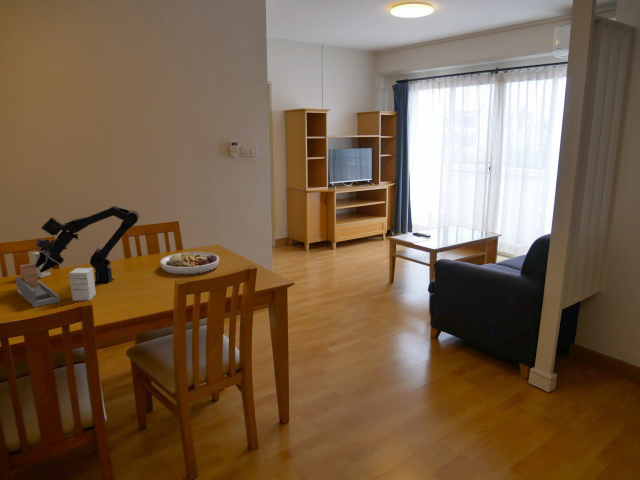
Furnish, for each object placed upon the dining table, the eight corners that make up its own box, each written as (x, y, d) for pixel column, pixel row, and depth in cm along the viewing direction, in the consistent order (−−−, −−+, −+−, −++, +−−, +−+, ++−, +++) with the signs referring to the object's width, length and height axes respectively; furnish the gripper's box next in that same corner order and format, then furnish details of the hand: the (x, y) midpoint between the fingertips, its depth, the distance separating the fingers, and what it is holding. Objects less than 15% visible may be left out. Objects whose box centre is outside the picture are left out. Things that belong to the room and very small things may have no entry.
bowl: (150, 275, 233) (149, 260, 232) (175, 259, 262) (174, 245, 261) (207, 278, 230) (207, 263, 228) (226, 261, 259) (226, 248, 257)
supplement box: (79, 294, 204) (76, 267, 201) (96, 294, 205) (93, 267, 202) (71, 300, 197) (68, 272, 194) (89, 300, 197) (86, 272, 194)
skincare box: (41, 278, 225) (38, 254, 222) (33, 277, 226) (30, 253, 223) (51, 274, 231) (48, 250, 228) (43, 273, 232) (40, 250, 229)
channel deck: (17, 291, 207) (15, 276, 205) (41, 286, 213) (39, 272, 212) (34, 307, 189) (32, 291, 187) (60, 301, 196) (58, 286, 194)
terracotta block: (22, 286, 207) (19, 265, 205) (35, 284, 211) (32, 263, 208) (25, 289, 204) (22, 267, 201) (38, 286, 207) (35, 265, 205)
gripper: (40, 228, 214) (16, 255, 209) (52, 235, 201) (26, 264, 196) (61, 242, 221) (38, 268, 216) (73, 249, 208) (49, 278, 203)
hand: (37, 269), depth 208 cm, fingers open, 9 cm apart
